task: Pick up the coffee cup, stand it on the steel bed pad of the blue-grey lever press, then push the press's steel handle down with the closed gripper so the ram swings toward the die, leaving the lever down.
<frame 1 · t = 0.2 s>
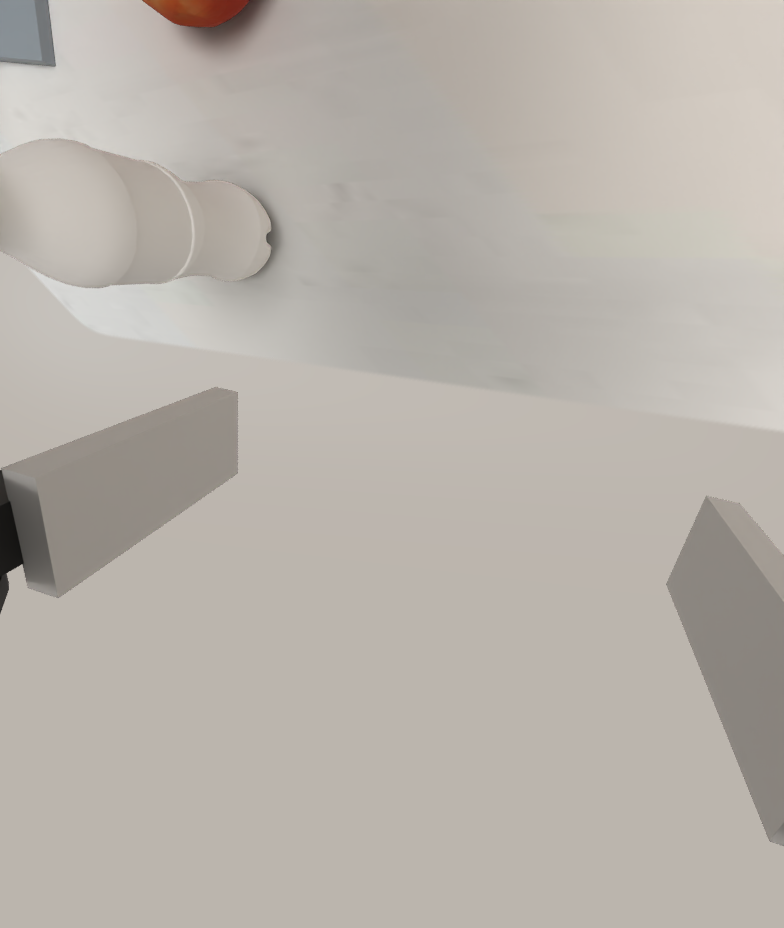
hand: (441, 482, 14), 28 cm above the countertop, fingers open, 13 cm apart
water bottle: (245, 235, 41), on the countertop
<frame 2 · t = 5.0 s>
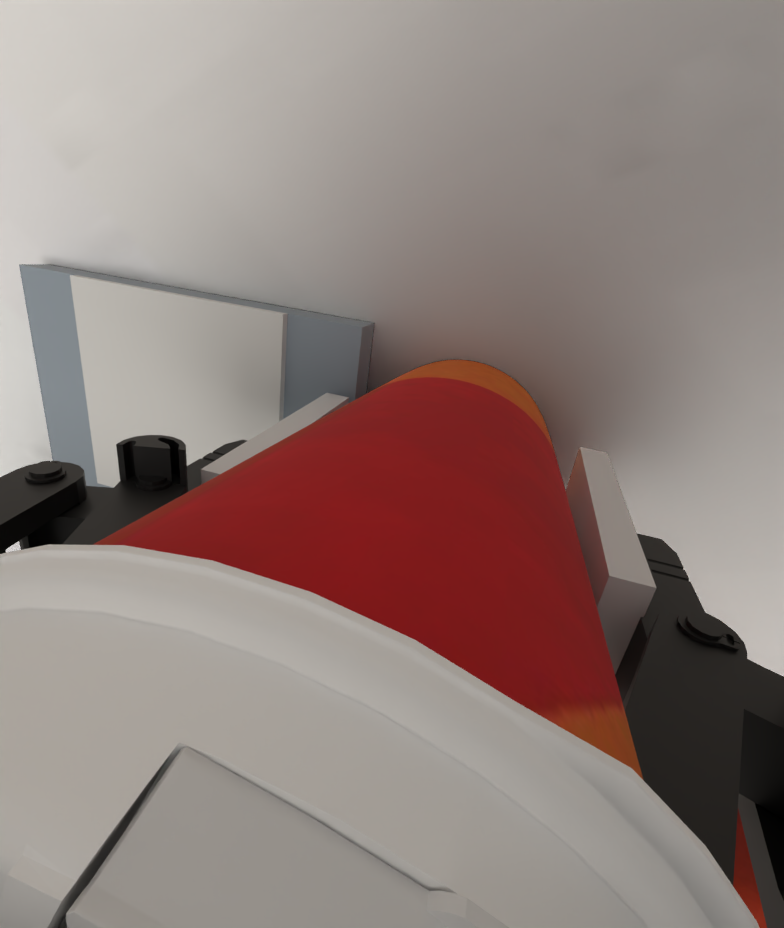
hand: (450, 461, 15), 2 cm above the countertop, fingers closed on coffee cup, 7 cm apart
coffee cup: (459, 442, 17), on the countertop, touching gripper
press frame: (207, 559, 22), on the countertop
tomato: (688, 799, 20), on the countertop
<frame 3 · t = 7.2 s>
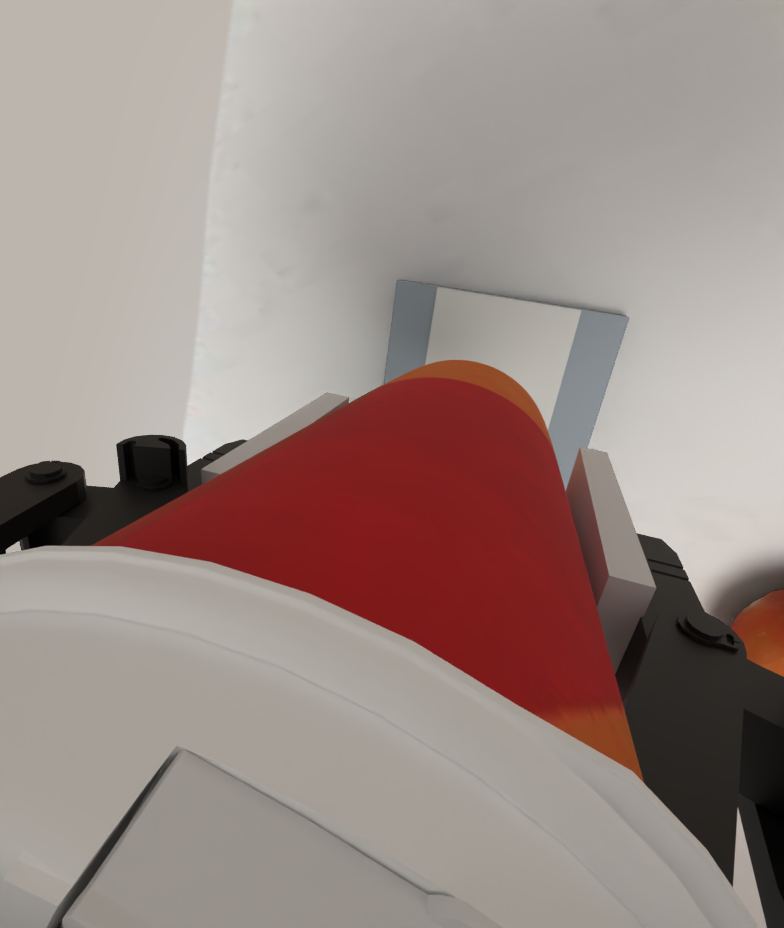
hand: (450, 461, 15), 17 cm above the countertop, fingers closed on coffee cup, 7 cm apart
water bottle: (719, 797, 38), on the countertop
coffee cup: (459, 443, 17), point 15 cm above the countertop, touching gripper
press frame: (470, 473, 33), on the countertop
when the fingers open (5 cm above the countertop, at t = 9.7 s): coffee cup drops 1 cm, resting on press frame.
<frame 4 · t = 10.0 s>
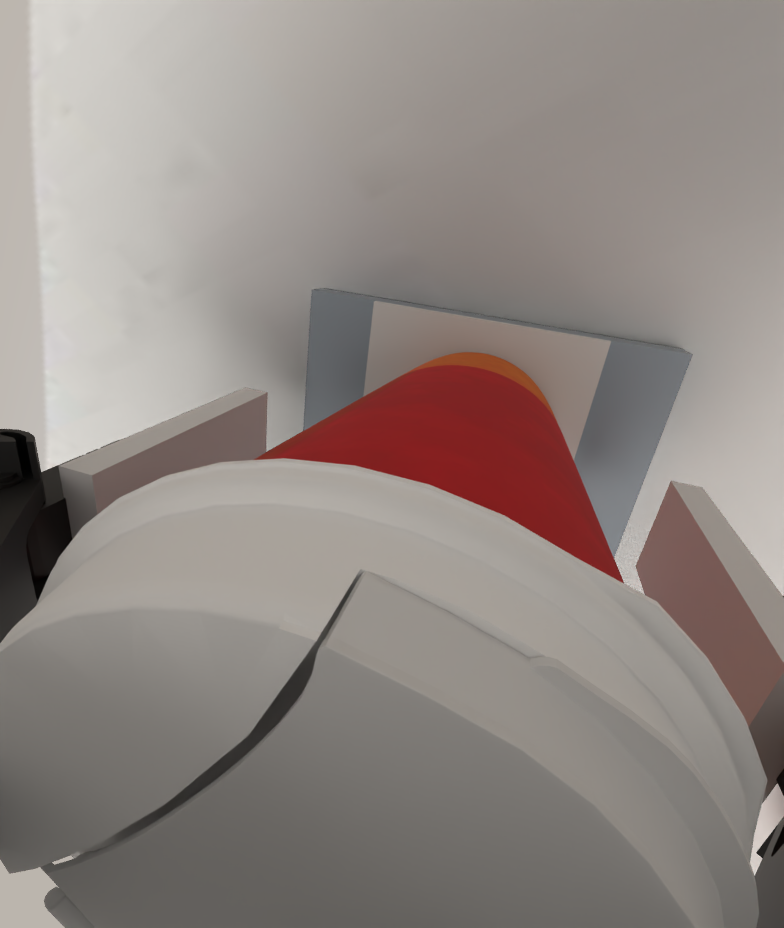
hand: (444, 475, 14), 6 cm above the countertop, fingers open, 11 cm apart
coffee cup: (470, 430, 18), point 1 cm above the countertop, touching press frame
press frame: (437, 573, 22), on the countertop
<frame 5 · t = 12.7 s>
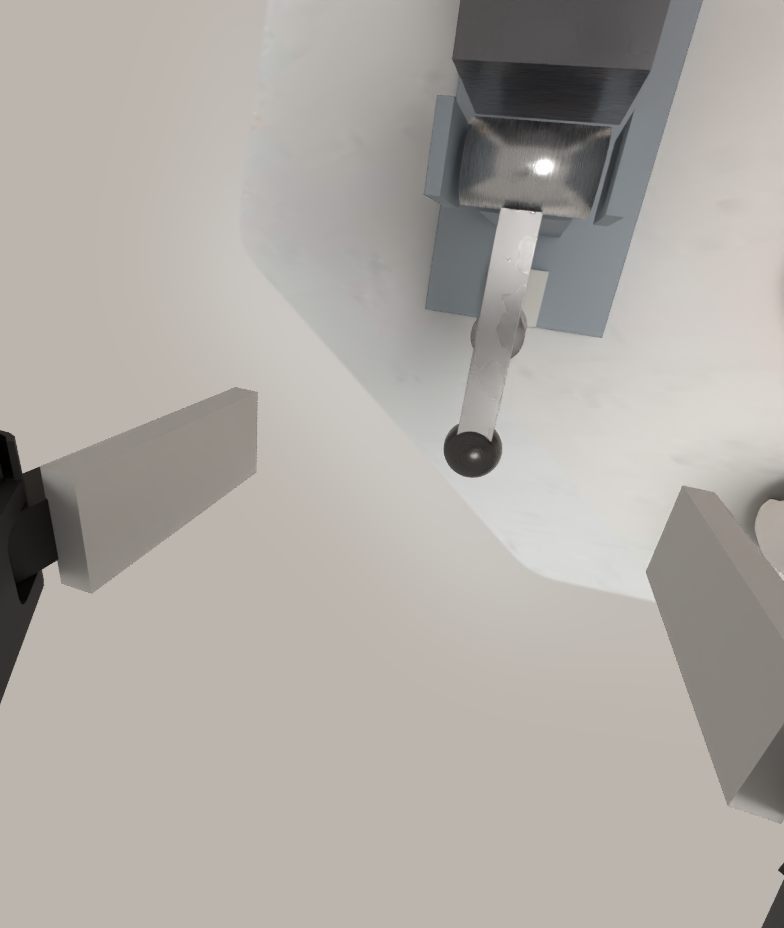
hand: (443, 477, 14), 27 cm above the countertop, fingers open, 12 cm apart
lever: (510, 276, 21), point 16 cm above the countertop, hinge at 0.0°
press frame: (550, 143, 32), on the countertop
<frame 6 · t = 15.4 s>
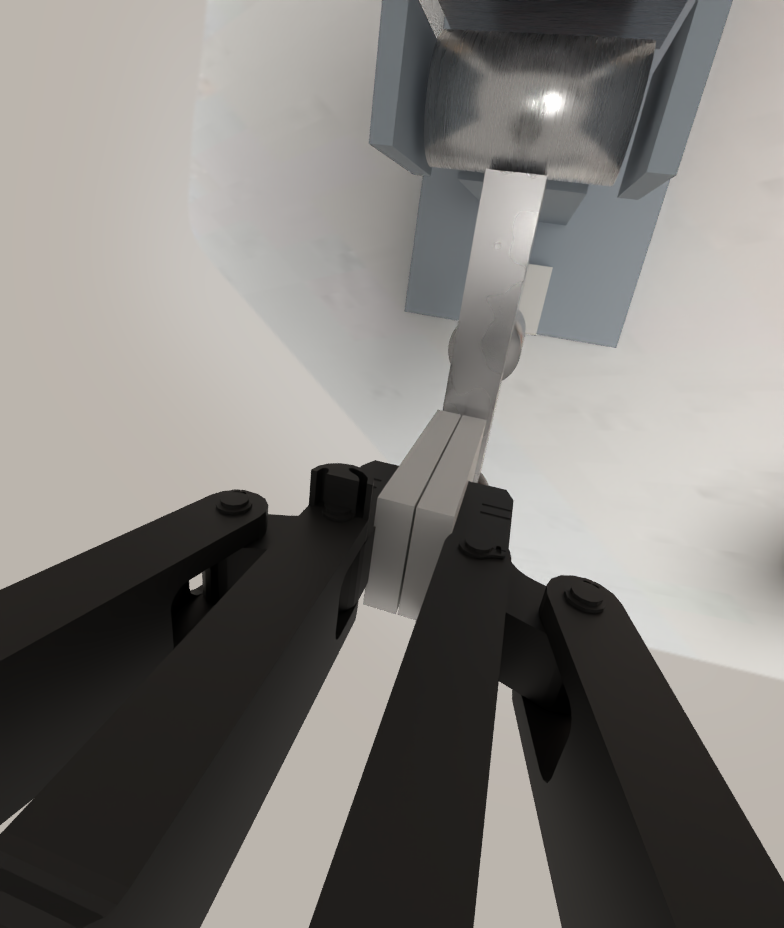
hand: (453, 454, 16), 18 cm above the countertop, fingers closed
lever: (501, 269, 15), point 16 cm above the countertop, hinge at 1.7°, touching gripper
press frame: (555, 109, 26), on the countertop
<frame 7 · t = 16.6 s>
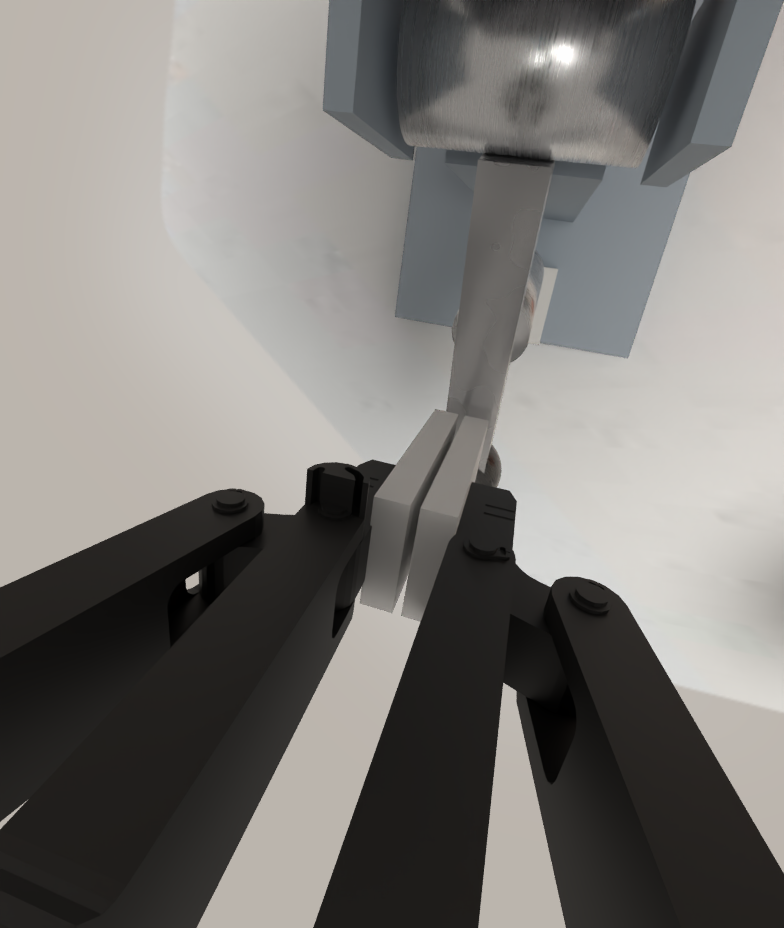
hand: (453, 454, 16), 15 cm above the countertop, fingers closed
lever: (506, 246, 14), point 15 cm above the countertop, hinge at 21.7°, touching gripper, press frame
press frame: (561, 92, 23), on the countertop
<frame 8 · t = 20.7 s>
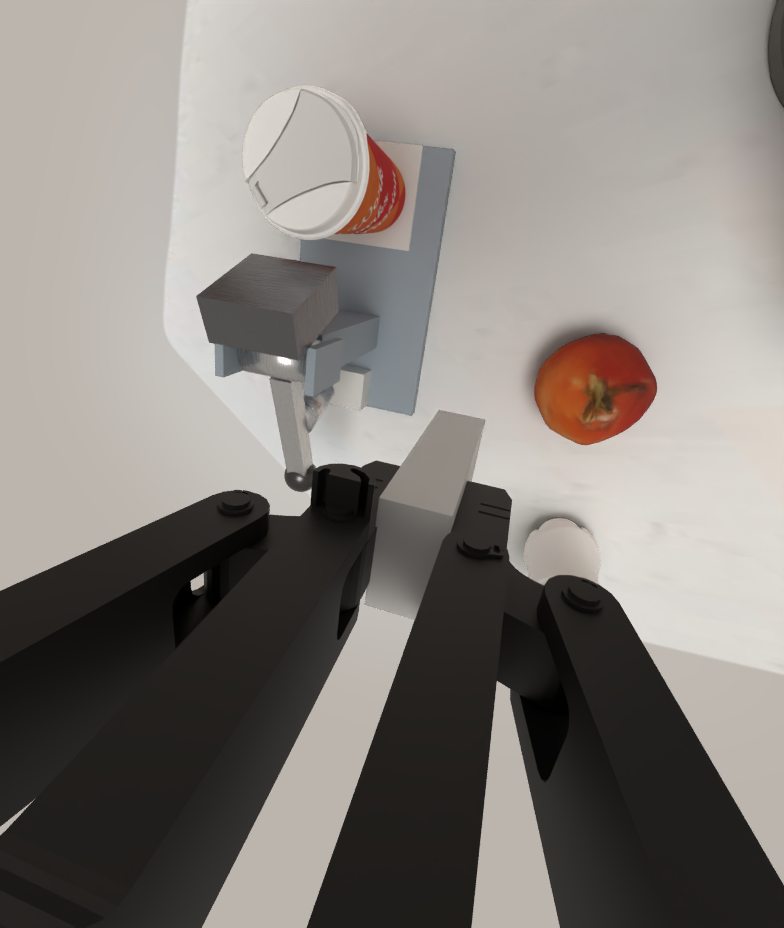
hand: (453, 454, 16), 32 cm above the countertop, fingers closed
lever: (296, 393, 37), point 15 cm above the countertop, hinge at 21.7°, touching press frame
water bottle: (559, 540, 51), on the countertop
coffee cup: (374, 194, 42), point 1 cm above the countertop, touching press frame
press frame: (367, 285, 47), on the countertop
tomato: (588, 379, 45), on the countertop
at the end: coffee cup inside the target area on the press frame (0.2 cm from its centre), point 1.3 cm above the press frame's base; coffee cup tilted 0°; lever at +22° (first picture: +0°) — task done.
